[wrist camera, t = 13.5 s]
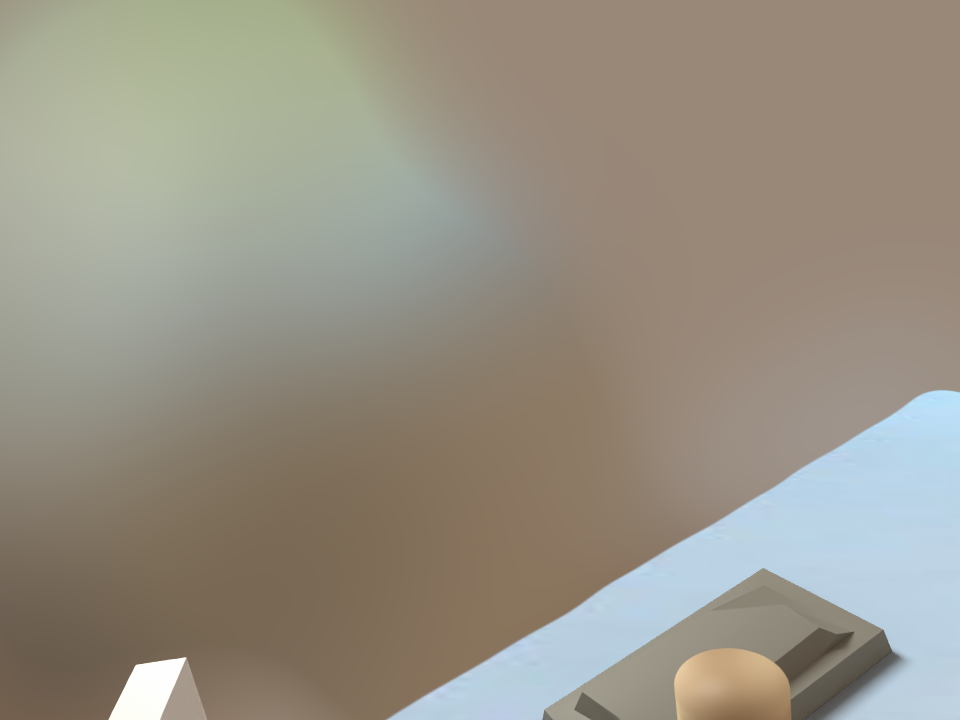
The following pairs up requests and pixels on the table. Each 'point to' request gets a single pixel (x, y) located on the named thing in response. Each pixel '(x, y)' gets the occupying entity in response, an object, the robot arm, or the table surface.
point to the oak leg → (731, 687)
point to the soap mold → (740, 625)
